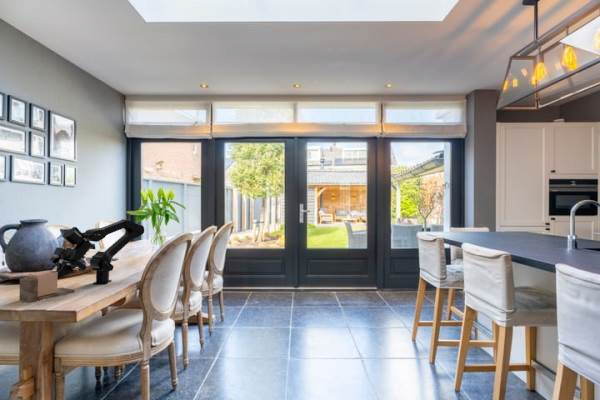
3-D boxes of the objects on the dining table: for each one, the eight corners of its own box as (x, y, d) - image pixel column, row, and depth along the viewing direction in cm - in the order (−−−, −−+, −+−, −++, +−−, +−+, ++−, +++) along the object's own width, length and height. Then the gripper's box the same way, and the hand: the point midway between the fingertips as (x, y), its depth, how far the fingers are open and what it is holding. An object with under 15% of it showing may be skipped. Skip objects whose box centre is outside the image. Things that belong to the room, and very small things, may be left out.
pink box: (48, 290, 150) (49, 270, 150) (57, 292, 147) (57, 271, 147) (28, 295, 142) (28, 274, 142) (37, 297, 140) (37, 275, 140)
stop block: (61, 289, 156) (62, 270, 156) (74, 292, 153) (74, 272, 153) (18, 299, 140) (18, 278, 140) (30, 302, 137) (31, 280, 137)
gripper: (54, 239, 157) (26, 266, 147) (80, 242, 150) (53, 271, 140) (71, 253, 165) (46, 280, 155) (96, 256, 157) (72, 285, 147)
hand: (53, 279), depth 149 cm, fingers closed, pressing on pink box
